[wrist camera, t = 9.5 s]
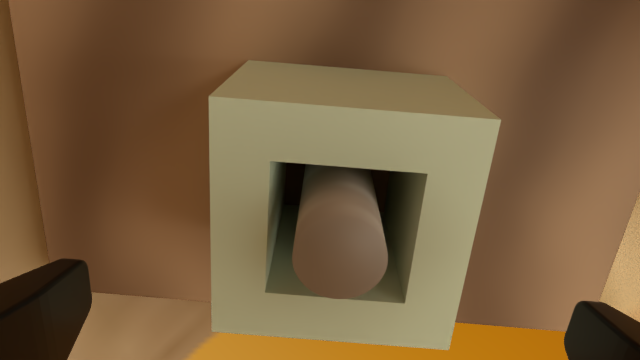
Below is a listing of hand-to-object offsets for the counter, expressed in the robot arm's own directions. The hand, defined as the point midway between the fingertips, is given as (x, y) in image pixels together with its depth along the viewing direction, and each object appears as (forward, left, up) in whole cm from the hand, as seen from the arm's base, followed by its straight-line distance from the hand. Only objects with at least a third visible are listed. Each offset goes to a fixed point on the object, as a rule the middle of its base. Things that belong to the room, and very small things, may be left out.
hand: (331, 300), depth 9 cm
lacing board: (0, 0, -9) cm, 9 cm away
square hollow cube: (0, 0, -7) cm, 7 cm away
